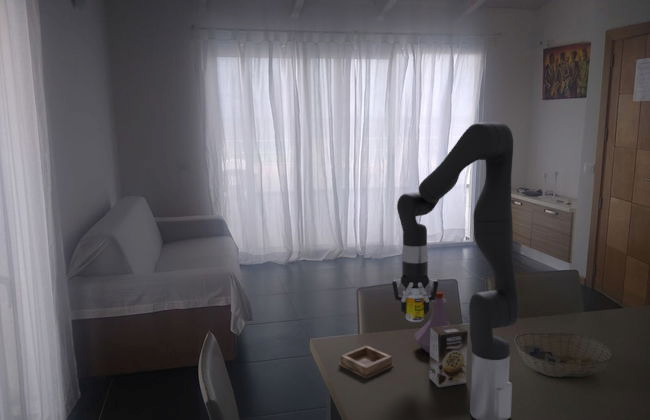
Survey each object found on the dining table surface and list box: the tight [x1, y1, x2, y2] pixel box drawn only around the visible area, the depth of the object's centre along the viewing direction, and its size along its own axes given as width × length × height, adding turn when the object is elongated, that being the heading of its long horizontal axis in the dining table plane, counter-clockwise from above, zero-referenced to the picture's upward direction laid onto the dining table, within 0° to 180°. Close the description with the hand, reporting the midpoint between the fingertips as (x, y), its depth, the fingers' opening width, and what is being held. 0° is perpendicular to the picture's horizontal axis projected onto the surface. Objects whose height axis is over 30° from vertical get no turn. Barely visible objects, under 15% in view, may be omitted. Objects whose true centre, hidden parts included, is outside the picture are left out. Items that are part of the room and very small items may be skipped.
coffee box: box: [428, 324, 469, 388], centre depth 149 cm, size 9×6×16 cm
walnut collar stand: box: [339, 344, 394, 380], centre depth 161 cm, size 12×12×3 cm
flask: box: [413, 291, 451, 354], centre depth 170 cm, size 16×16×20 cm
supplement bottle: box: [405, 288, 425, 323], centre depth 154 cm, size 6×6×10 cm
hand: (414, 312), depth 155 cm, fingers closed on supplement bottle, 5 cm apart
